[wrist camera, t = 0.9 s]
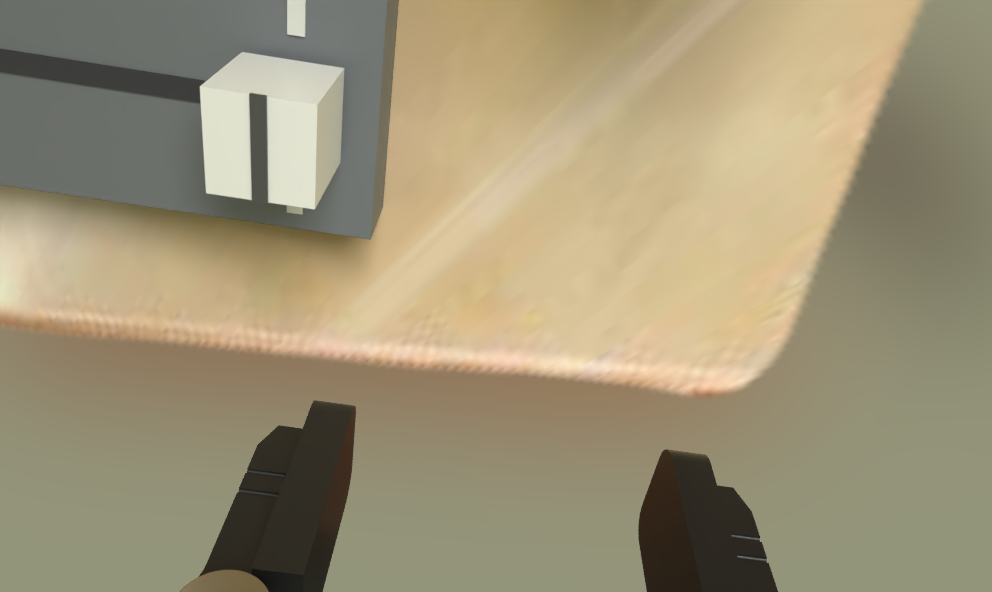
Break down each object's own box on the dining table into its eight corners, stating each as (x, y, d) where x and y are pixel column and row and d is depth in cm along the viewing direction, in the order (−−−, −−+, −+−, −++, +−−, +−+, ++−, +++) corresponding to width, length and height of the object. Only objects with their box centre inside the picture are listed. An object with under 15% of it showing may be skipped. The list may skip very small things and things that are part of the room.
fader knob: (242, 50, 26) (198, 85, 22) (344, 66, 26) (316, 104, 23) (245, 149, 28) (205, 195, 24) (340, 163, 28) (313, 212, 24)
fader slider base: (-171, -138, 26) (-249, -133, 24) (401, -43, 27) (388, -28, 25) (-95, 135, 32) (-152, 163, 29) (382, 206, 33) (370, 240, 30)
